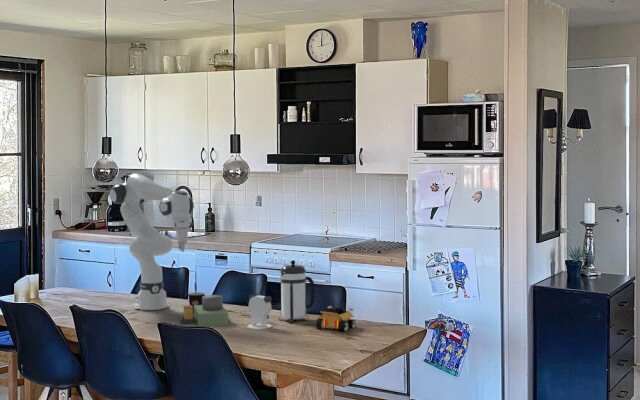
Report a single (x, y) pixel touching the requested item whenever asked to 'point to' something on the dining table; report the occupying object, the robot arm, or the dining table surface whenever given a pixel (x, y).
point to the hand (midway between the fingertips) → (181, 250)
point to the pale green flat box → (209, 312)
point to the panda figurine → (259, 311)
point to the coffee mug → (195, 299)
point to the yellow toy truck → (336, 319)
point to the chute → (188, 312)
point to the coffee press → (295, 292)
